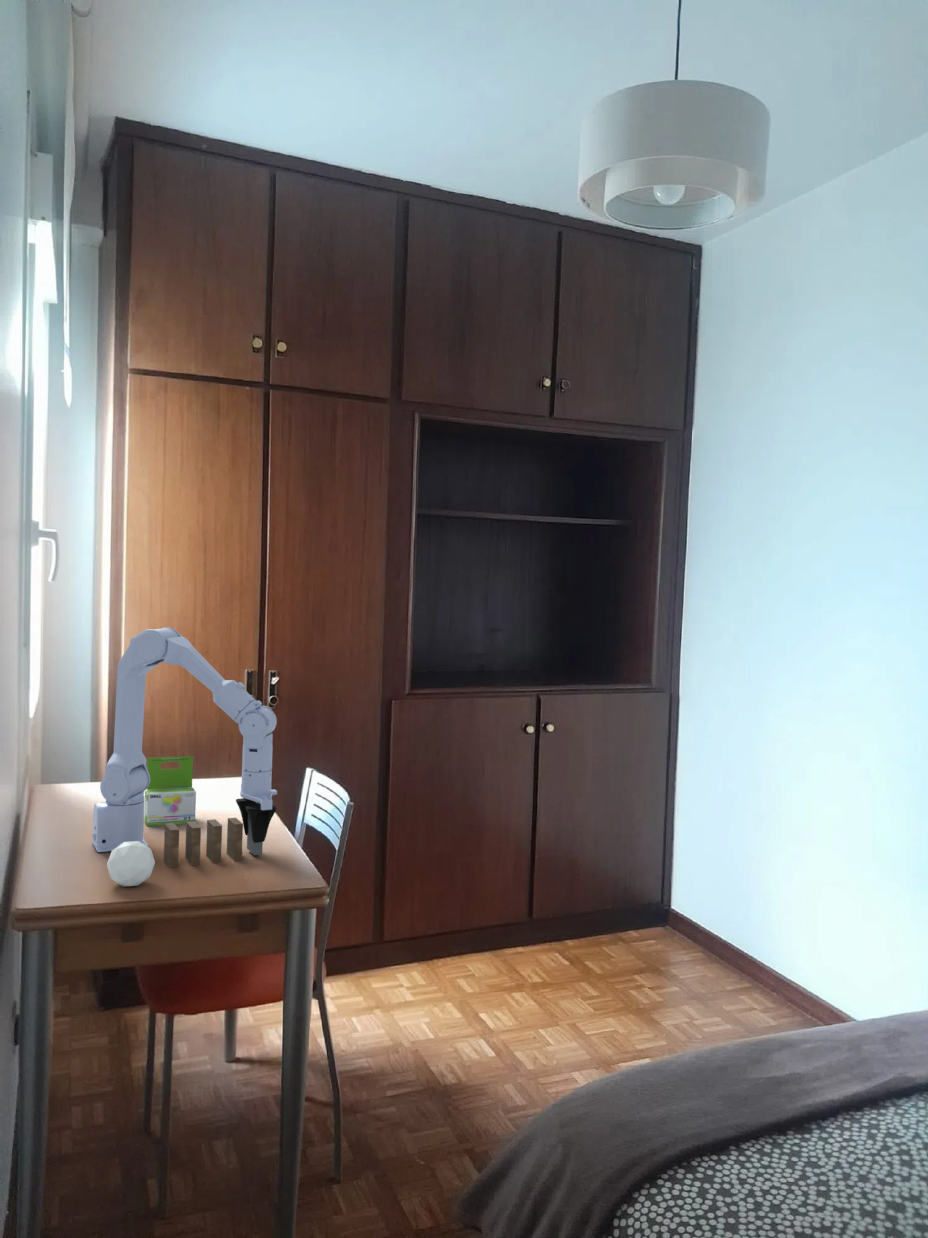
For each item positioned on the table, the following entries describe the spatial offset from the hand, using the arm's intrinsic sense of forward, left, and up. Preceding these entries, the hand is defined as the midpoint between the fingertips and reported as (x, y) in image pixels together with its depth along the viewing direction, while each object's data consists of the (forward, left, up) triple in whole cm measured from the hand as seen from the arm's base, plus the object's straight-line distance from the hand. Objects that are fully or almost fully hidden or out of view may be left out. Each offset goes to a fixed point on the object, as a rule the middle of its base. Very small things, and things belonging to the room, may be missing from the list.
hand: (254, 838), depth 188 cm
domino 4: (-4, 0, -3) cm, 5 cm away
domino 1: (-16, 0, -3) cm, 16 cm away
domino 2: (-12, 0, -3) cm, 12 cm away
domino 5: (0, 0, -3) cm, 3 cm away
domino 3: (-8, 0, -3) cm, 9 cm away
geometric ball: (-25, -10, -3) cm, 27 cm away
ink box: (-10, +30, -3) cm, 32 cm away
